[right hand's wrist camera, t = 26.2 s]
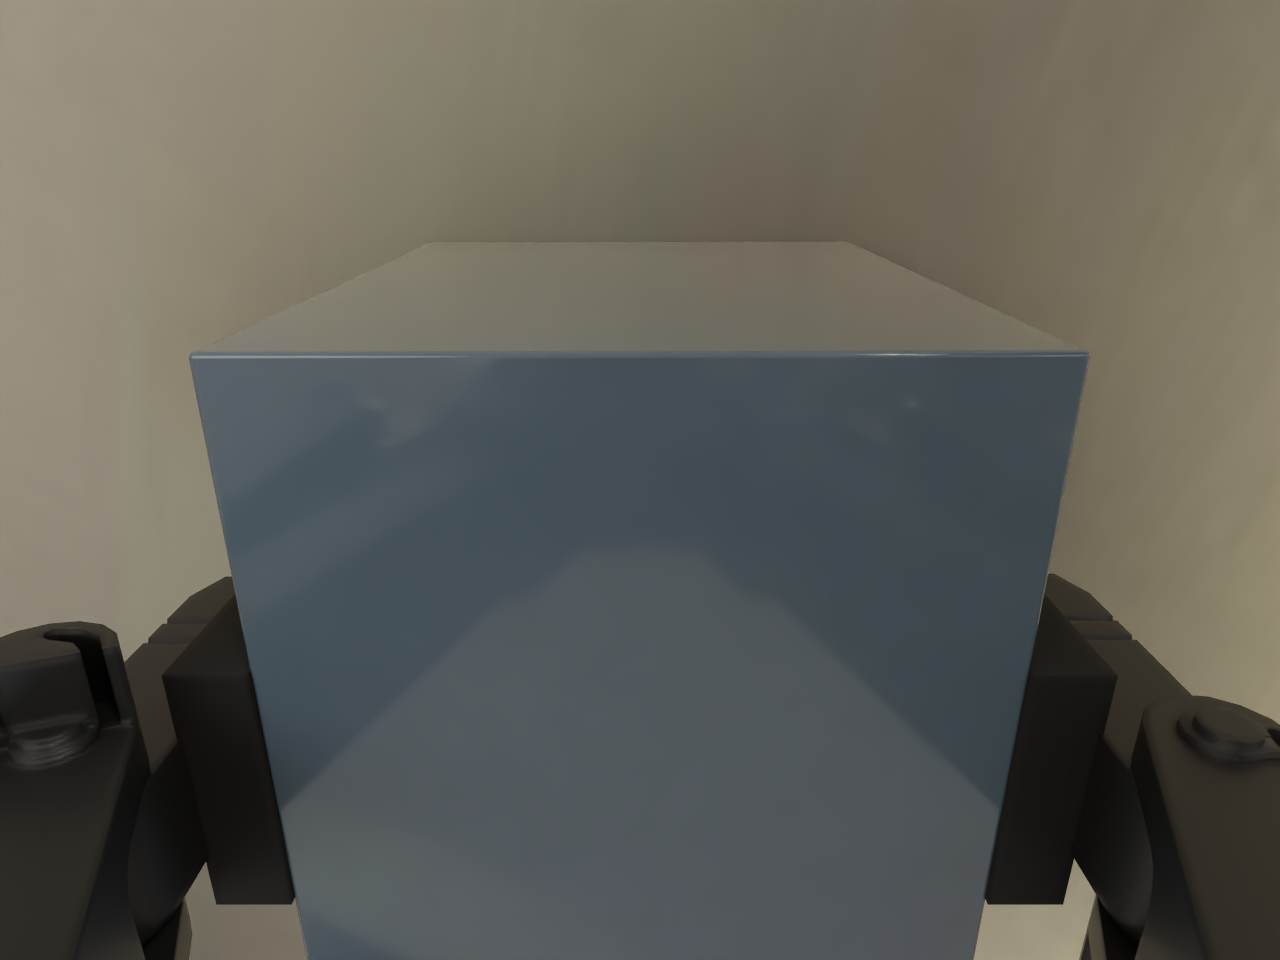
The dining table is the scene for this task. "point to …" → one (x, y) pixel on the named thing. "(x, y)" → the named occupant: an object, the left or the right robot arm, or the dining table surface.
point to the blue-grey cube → (639, 596)
